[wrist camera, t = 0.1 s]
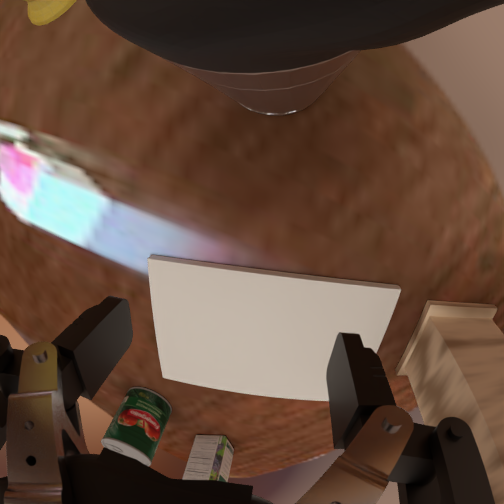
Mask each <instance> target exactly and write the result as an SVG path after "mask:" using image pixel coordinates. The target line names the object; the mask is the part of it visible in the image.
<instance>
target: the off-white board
mask: <svg viewBox="0 0 504 504" xmlns="http://www.w3.org/2000/svg"><path fill="white" fill-rule="evenodd" d="M148 271H149V282H150V292H151V301H152V310H153V318H154V325H155V332H156V339H157V346H158V352H159V358H160V364H161V370H162V375H163V378H167V379H171V380H175V381H180V382H184V383H189V384H194V385H199V386H204V387H209V388H214V389H220V390H226V391H232V392H238V393H245V394H252V395H260V396H269V397H278V398H289V399H301V400H317V401H329V397H328V389H327V381H326V372H327V366H328V362H329V359H330V356H331V353H332V350H333V347H334V344H335V341H336V337H337V335H338V333H339V332H343V333H356V334H359V335H360V337H361V340H362V343H363V346H364V347H366V348H371V349H372V350H373V351H374V352H375V353H377V350H378V348H379V346H380V343H381V341H382V339H383V336H384V334H385V332H386V329H387V327H388V324H389V322H390V319H391V316H392V314H393V311H394V309H395V306H396V303H397V300H398V298H399V295H400V292H401V289H400V287H399V285H394V284H384V283H375V282H366V281H357V280H348V279H339V278H330V277H321V276H313V275H304V274H296V273H288V272H279V271H271V270H263V269H255V268H247V267H240V266H232V265H224V264H216V263H209V262H201V261H194V260H187V259H179V258H172V257H165V256H158V255H151V256H150V257H149V258H148Z"/></svg>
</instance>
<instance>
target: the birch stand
mask: <svg viewBox="0 0 504 504" xmlns="http://www.w3.org/2000/svg"><path fill="white" fill-rule="evenodd" d="M497 309H498V308H497V307H496V306H495V305H494V304H478V303H462V302H447V301H434V300H427V302H426V305H425V307H424V310H423V312H422V315H421V317H420V319H419V322H418V324H417V326H416V328H415V331H414V333H413V335H412V337H411V339H410V341H409V343H408V346H407V348H406V350H405V352H404V354H403V356H402V358H401V360H400V362H399V363H398V365H397V367H396V369H395V371H396V374H397V375H408V378H409V381H410V383H411V386H412V389H413V392H414V395H415V398H416V400H417V403H418V406H419V409H420V412H421V415H422V419H423V422H424V425H428V426H434V427H436V426H437V425H438V424H439V422H440V421H441V420H442V419H444V418H446V417H457V418H460V419H462V420H463V421H465V422H466V423H467V424H468V425H469V427H470V428H471V431H472V433H473V436H474V438H475V441H476V444H477V446H478V449H479V452H480V455H481V458H482V461H483V464H484V467H485V470H486V473H487V476H488V479H489V483H490V486H491V490H492V494H493V497H494V501H495V504H504V334H503V333H502V332H501V330H500V329H499V328H498V327H497V325H496V324H495V323H494V322H493V320H492V319H493V317H494V315H495V313H496V311H497Z"/></svg>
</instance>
